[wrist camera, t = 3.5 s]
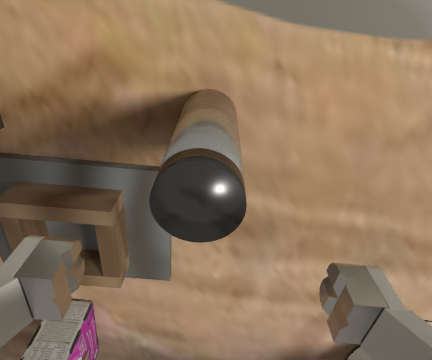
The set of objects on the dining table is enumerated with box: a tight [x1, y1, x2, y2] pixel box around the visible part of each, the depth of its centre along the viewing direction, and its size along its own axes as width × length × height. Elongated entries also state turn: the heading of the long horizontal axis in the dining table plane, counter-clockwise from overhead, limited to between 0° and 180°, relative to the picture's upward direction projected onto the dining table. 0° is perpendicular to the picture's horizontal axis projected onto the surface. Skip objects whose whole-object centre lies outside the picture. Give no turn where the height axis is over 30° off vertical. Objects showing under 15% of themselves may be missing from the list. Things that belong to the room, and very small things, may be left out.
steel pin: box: [149, 89, 246, 242], centre depth 18 cm, size 4×4×12 cm
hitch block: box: [0, 153, 171, 288], centre depth 28 cm, size 18×14×4 cm
